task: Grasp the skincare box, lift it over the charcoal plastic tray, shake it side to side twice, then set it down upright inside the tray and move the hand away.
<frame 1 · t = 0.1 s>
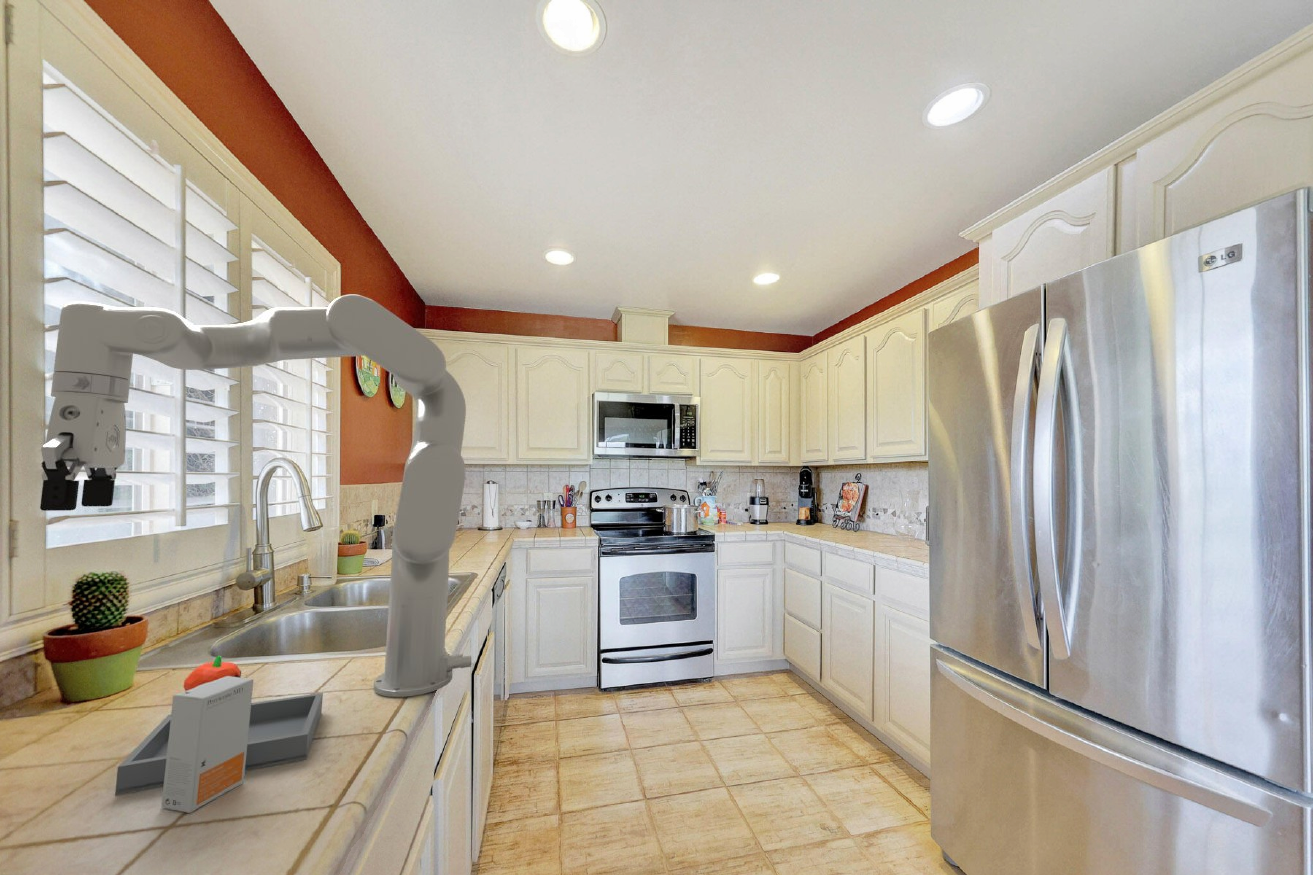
hand: (78, 508, 72), 31 cm above the counter, tool pointing down, fingers open, 9 cm apart
tray: (233, 748, 68), on the counter
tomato: (211, 696, 84), on the counter
skincare box: (205, 796, 58), on the counter
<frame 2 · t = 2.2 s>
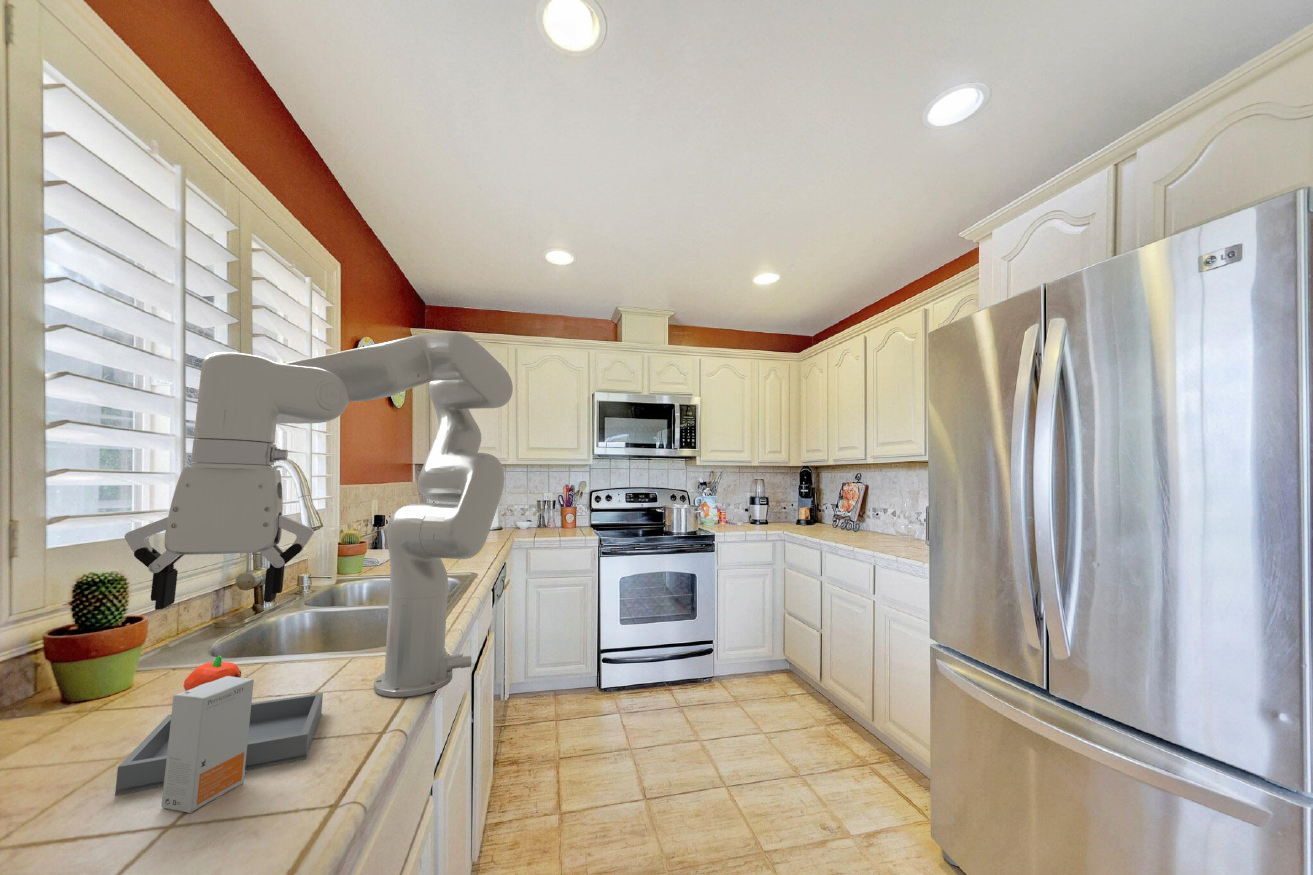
hand: (219, 603, 59), 21 cm above the counter, tool pointing down, fingers open, 9 cm apart
nothing on the counter moved.
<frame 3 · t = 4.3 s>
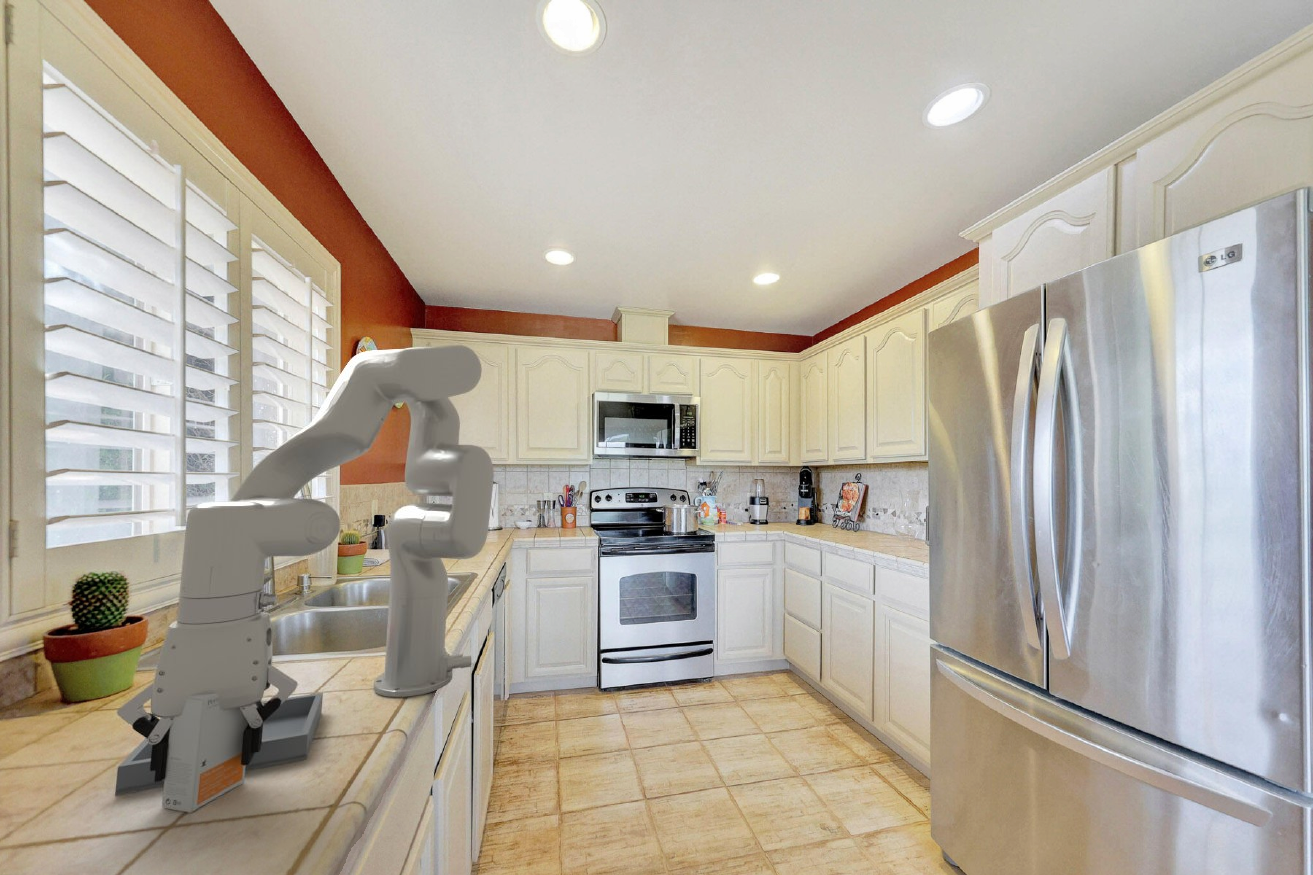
hand: (207, 765, 58), 3 cm above the counter, tool pointing down, fingers closed on skincare box, 6 cm apart
skincare box: (205, 796, 58), on the counter, touching gripper
everything else where it was.
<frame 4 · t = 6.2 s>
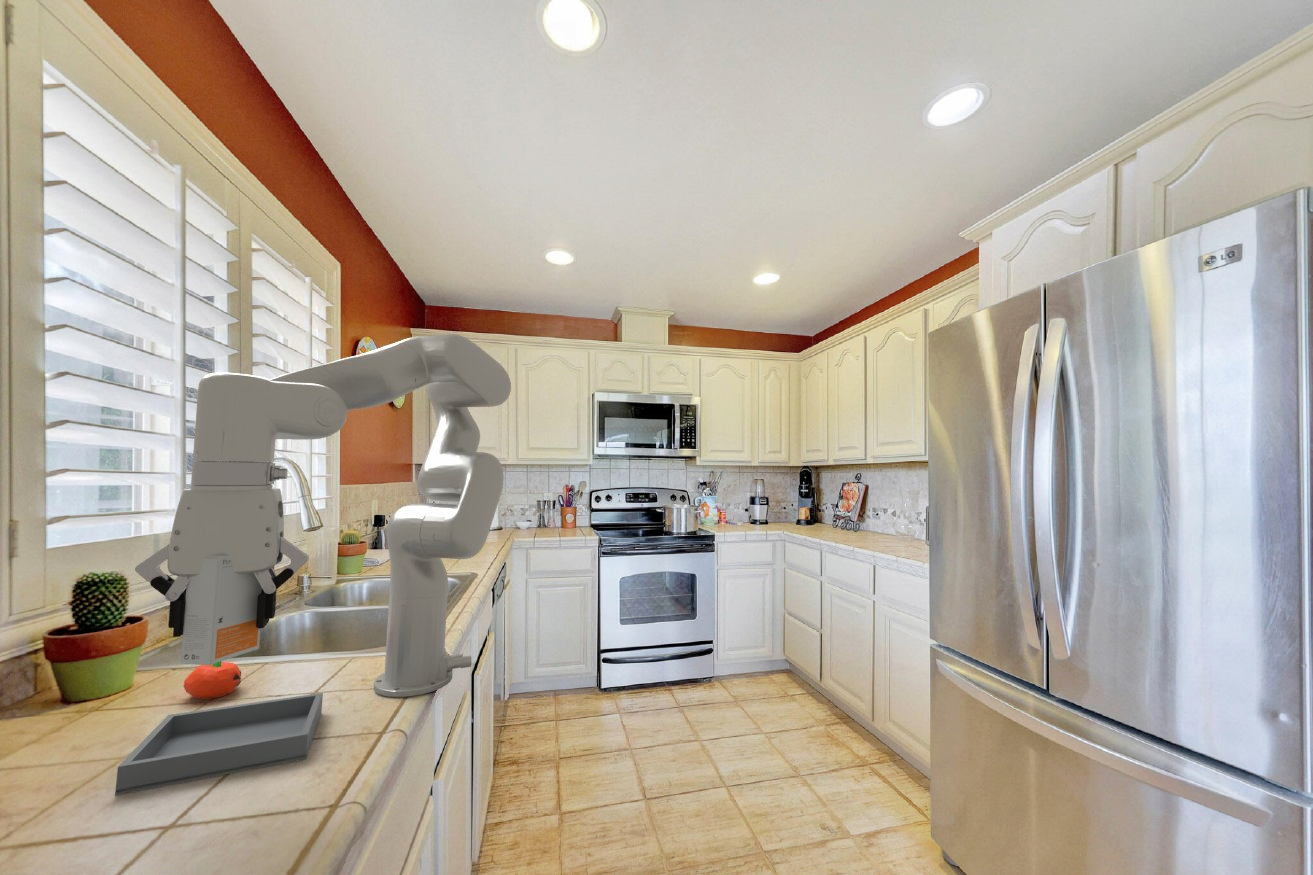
hand: (223, 627, 60), 18 cm above the counter, tool pointing down, fingers closed on skincare box, 6 cm apart
skincare box: (222, 658, 59), point 15 cm above the counter, touching gripper
everything else where it was.
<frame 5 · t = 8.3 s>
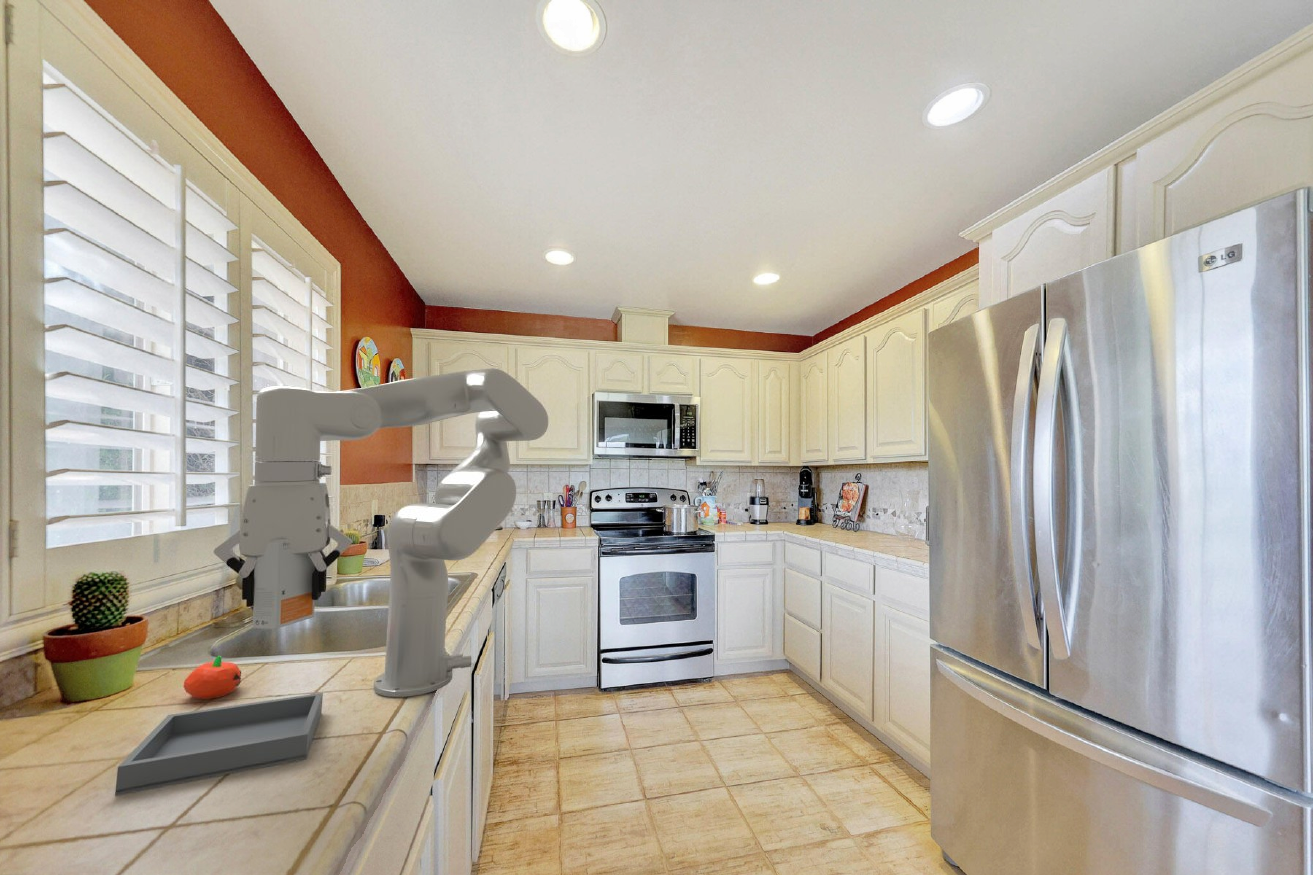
hand: (285, 599, 72), 19 cm above the counter, tool pointing down, fingers closed on skincare box, 6 cm apart
skincare box: (285, 624, 71), point 16 cm above the counter, touching gripper
everything else where it was.
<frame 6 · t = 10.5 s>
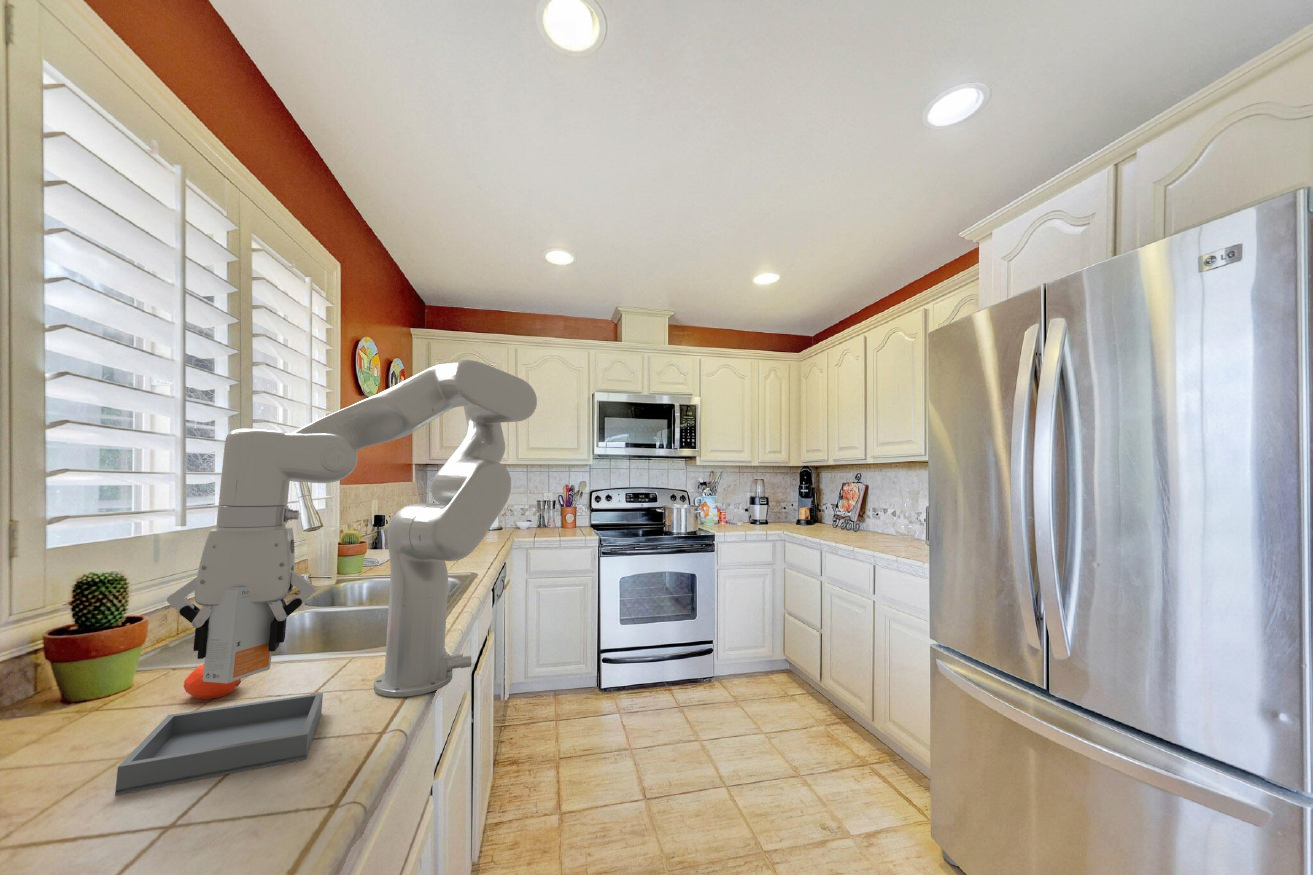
hand: (240, 650, 69), 13 cm above the counter, tool pointing down, fingers closed on skincare box, 6 cm apart
skincare box: (238, 677, 68), point 9 cm above the counter, touching gripper
everything else where it was.
when the fingers open (5 cm above the counter, at t = 12.4 s): skincare box drops 1 cm, resting on tray.
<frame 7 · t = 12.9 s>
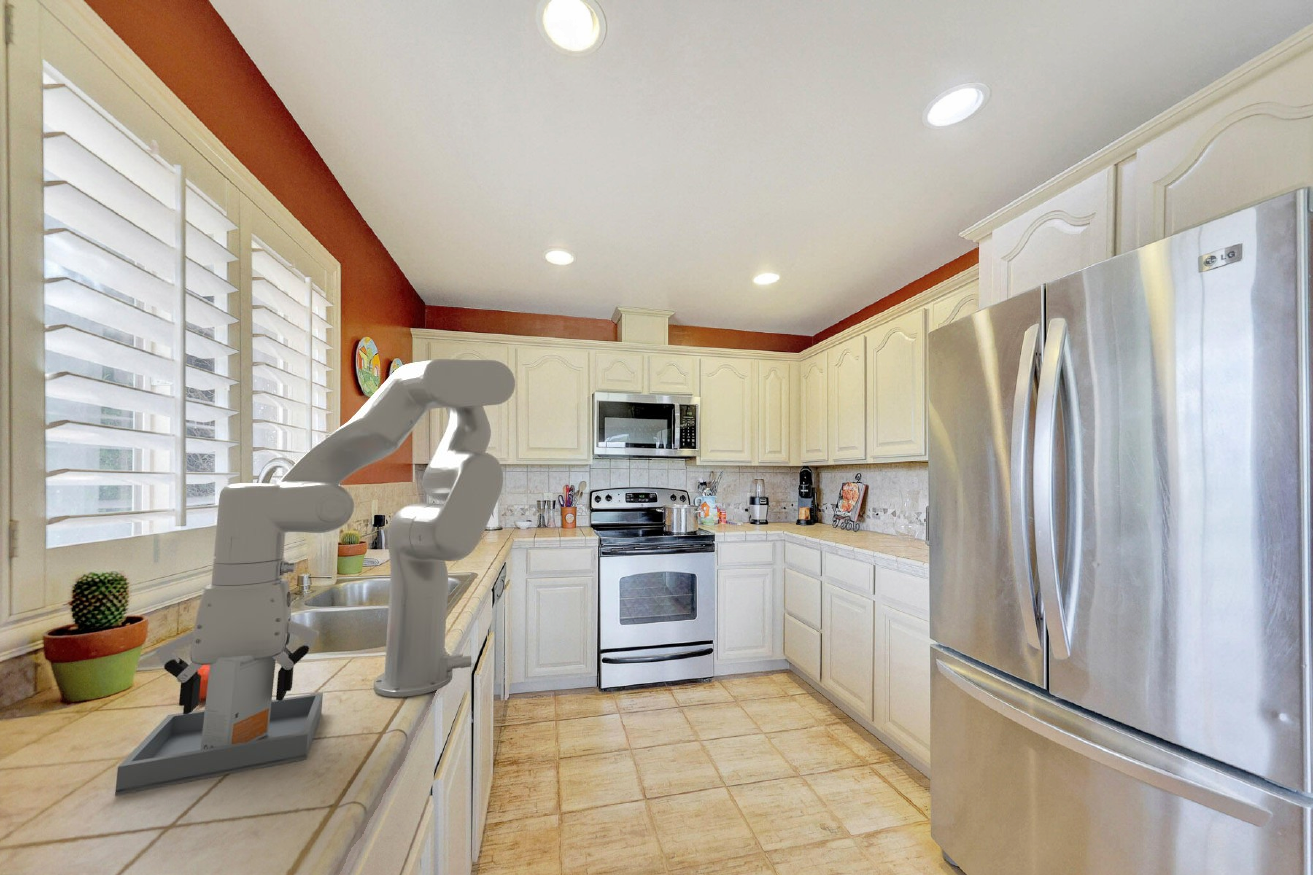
hand: (237, 703, 68), 6 cm above the counter, tool pointing down, fingers open, 9 cm apart
skincare box: (236, 745, 68), resting on tray
everything else where it was.
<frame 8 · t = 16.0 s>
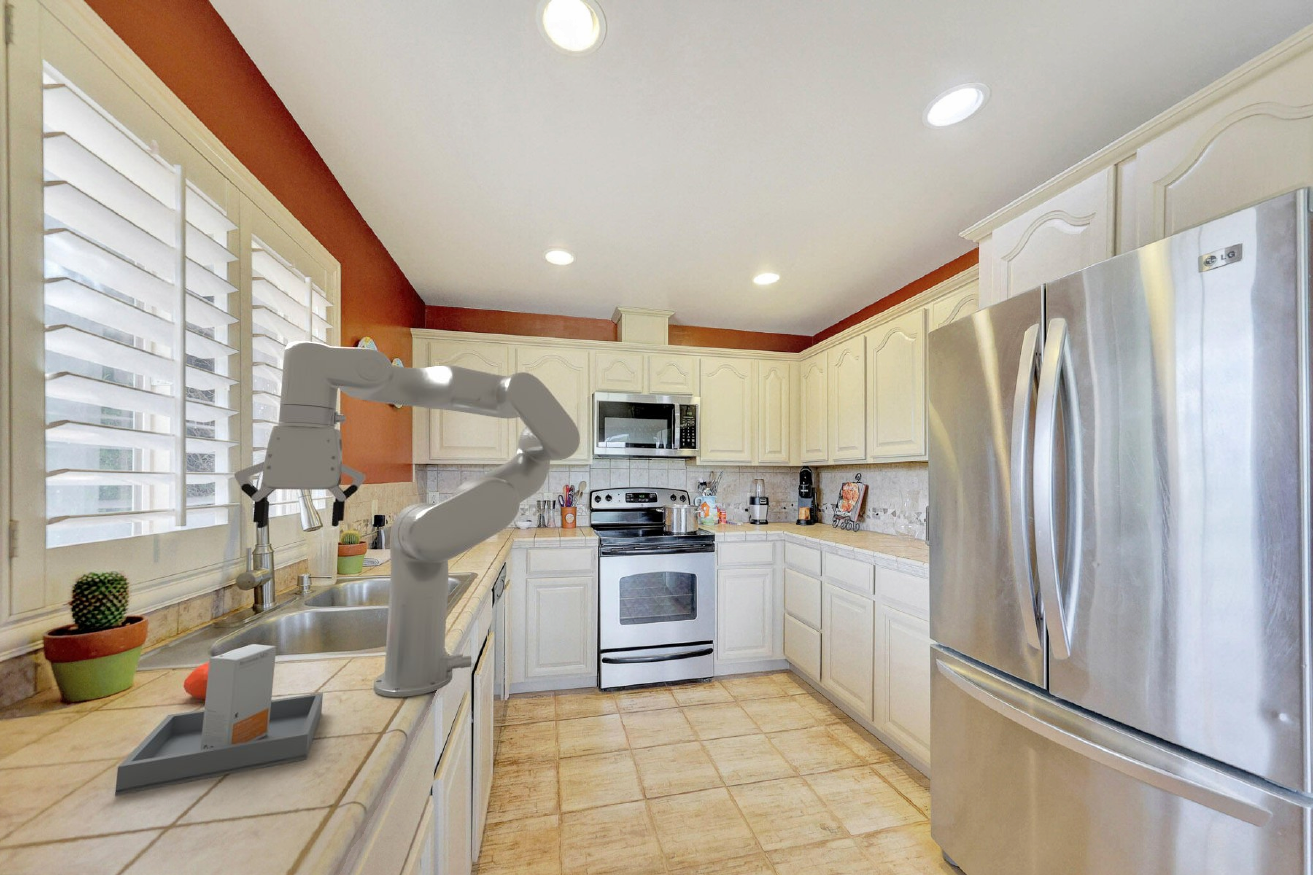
hand: (299, 526, 81), 28 cm above the counter, tool pointing down, fingers open, 9 cm apart
nothing on the counter moved.
at the end: skincare box inside the target area on the tray (0.4 cm from its centre), point 0.4 cm above the tray's base; skincare box tilted 0°; the gripper is holding nothing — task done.
